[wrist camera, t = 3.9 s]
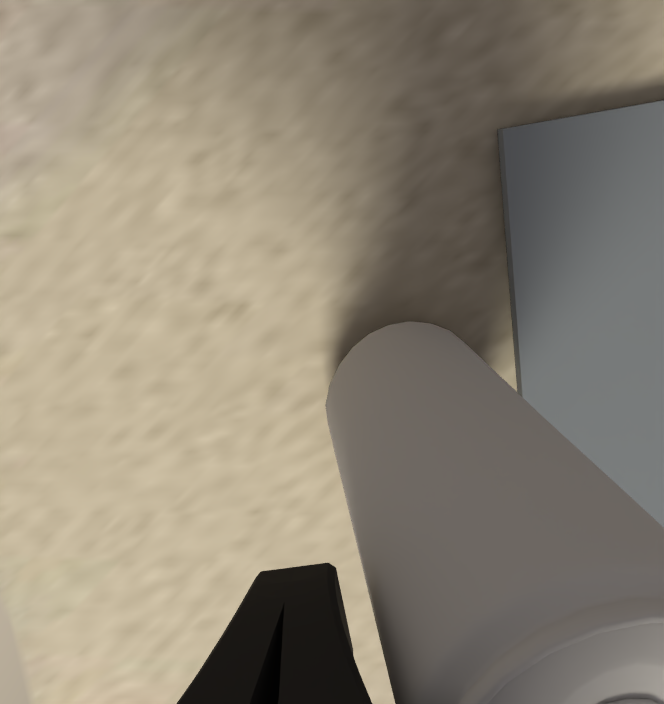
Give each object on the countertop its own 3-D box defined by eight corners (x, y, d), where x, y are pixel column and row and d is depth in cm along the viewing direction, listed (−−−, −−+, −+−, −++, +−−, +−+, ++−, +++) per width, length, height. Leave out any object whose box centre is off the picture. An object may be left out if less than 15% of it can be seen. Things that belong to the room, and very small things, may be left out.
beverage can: (324, 468, 19) (415, 934, 8) (321, 318, 18) (431, 624, 6) (474, 459, 20) (767, 885, 8) (485, 312, 18) (861, 586, 7)
